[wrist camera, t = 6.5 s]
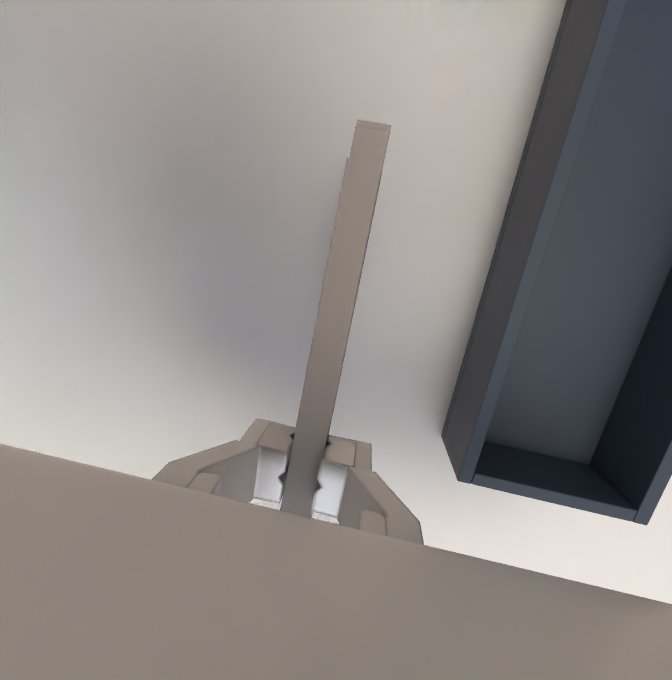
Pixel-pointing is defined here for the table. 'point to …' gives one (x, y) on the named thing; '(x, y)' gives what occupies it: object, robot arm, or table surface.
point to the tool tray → (581, 282)
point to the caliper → (335, 313)
